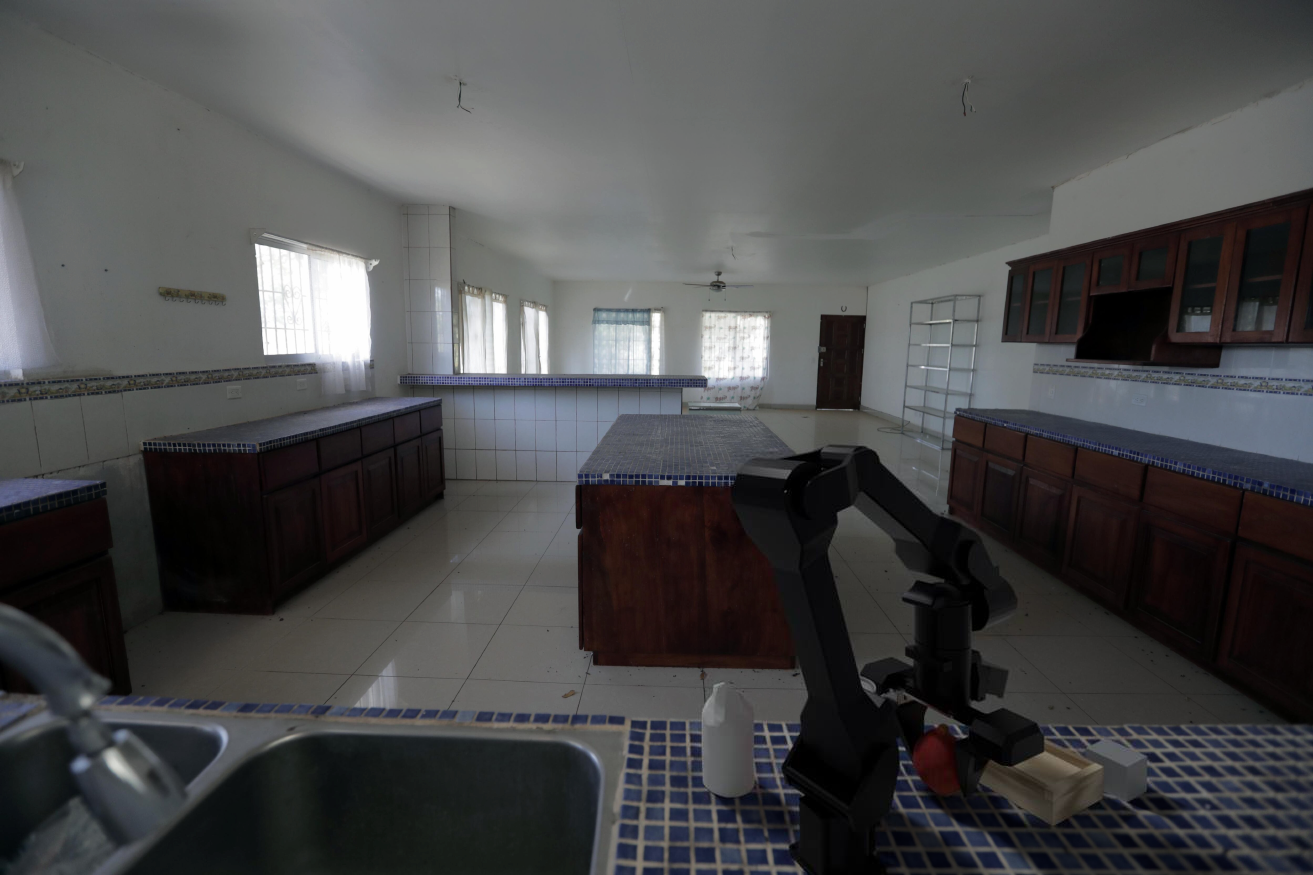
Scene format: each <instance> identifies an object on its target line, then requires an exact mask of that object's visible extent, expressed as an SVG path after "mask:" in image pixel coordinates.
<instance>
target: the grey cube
mask: <svg viewBox="0 0 1313 875" xmlns="http://www.w3.org/2000/svg"><path fill="white" fill-rule="evenodd" d="M1085 758H1086V759H1088V760H1090V761H1092V762H1094V763H1097V764H1099V765H1101V766H1103V767H1104V768H1103V792H1105V793H1107V794H1109V795H1111V796H1113V797H1115V798H1116V799H1119V800H1120V801H1122V802H1125V803H1126V804H1127V803H1128V802H1129V803H1130V802H1131V801H1132V800H1134V799H1136V798H1137V797H1140V795H1143V794H1144V793H1146V792H1147V791H1148V788H1147V787H1148V782H1147V781H1148V755H1146V754H1143V753H1140V752H1138V751H1136V750H1133V749H1131V748H1129V747H1127V746H1125V745H1122V744H1120V743H1117V742H1116V741H1113V740H1110V739H1108V738H1104V739H1101V740H1099V741H1097V742H1096V743H1093V744H1091V745H1090V746H1089V745H1088V747H1085Z"/></svg>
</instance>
